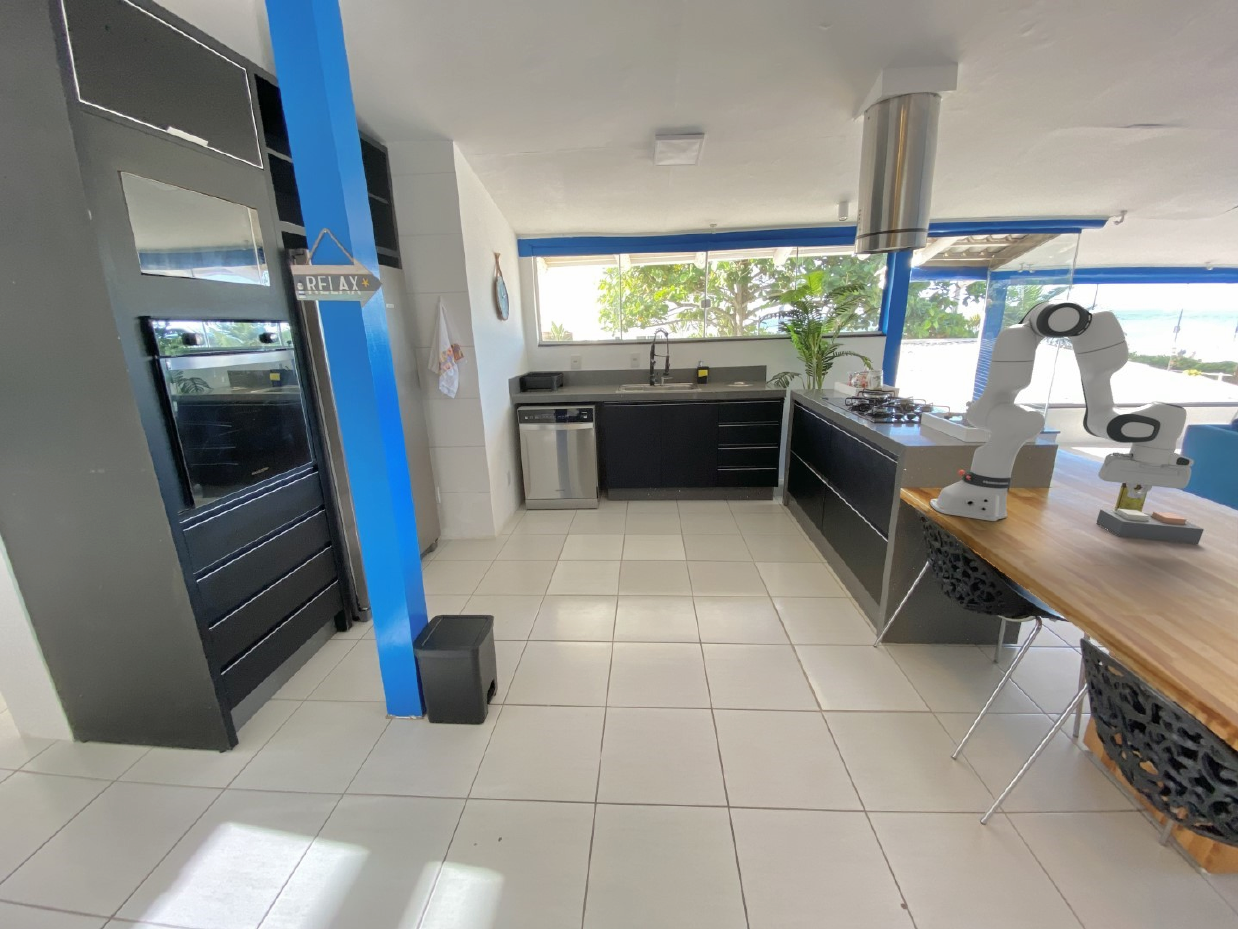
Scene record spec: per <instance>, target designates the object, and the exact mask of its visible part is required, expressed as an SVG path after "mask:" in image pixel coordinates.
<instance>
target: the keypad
mask: <svg viewBox="0 0 1238 929" xmlns="http://www.w3.org/2000/svg"><path fill="white" fill-rule="evenodd" d="M1116 512H1117V511H1116V510H1115V509H1103V508H1100V510H1099V512H1098V516H1097V519H1096V522H1097V523H1098V524H1097V523H1096V524H1097V525H1099V526H1100V525H1101V527H1102V528H1104V529H1105V528H1106V529H1105V530H1107V529H1108V530H1107V531H1109V532H1111V533H1112V534H1114V535H1115V534H1116V535H1115V536H1117V537H1120V538H1121V537H1122V538H1130V539H1138V540H1139V539H1141V540H1148V541H1149V540H1150V541H1161V542H1168V543H1170V542H1171V543H1178V544H1179V543H1180V544H1192V545H1199V543H1200V542H1201V537H1202V535H1203V533H1204V530H1205V529H1204V528H1203V527H1200V526H1198V525H1196V524H1193V523H1191V522H1189V521H1187V520H1186V523H1185V525H1181V524H1170V523H1162V522H1160V521H1158V520H1156V519H1154V518H1152V514H1153V513H1148V512H1143V513H1144V514H1146V515H1148V516H1149V517H1148V520H1147V521H1138V520H1127V519H1124V518H1122V517H1120V516H1119V515H1117V514H1116Z"/></svg>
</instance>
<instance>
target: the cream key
mask: <svg viewBox="0 0 1238 929" xmlns="http://www.w3.org/2000/svg"><path fill="white" fill-rule="evenodd" d="M1144 513H1145V512H1140V511H1137V510H1127V509H1117V512H1116V514H1117V515H1119V516H1120V517H1122V518H1124V519H1127V520H1138V521H1147V520H1148V517H1149V516H1148V515H1146V514H1144Z"/></svg>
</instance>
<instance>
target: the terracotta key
mask: <svg viewBox="0 0 1238 929" xmlns="http://www.w3.org/2000/svg"><path fill="white" fill-rule="evenodd" d="M1151 514H1152V518H1154V519H1156V520H1158V521H1160V522H1162V523H1170V524H1181V525H1185V523H1186V521H1187V519H1186V518H1185V517H1182V516H1180V515H1178V514H1176V513H1171V512H1160V511H1153V512H1152V513H1151Z"/></svg>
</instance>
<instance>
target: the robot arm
mask: <svg viewBox="0 0 1238 929" xmlns="http://www.w3.org/2000/svg"><path fill="white" fill-rule="evenodd" d="M1045 338H1052V339H1060V338H1061V339H1062V338H1068V340H1069V341H1070V343H1071V345H1072V350H1073V352H1074V357H1075V360H1076V363H1077V366H1078V370H1079V375H1080V382H1081V388H1082V392H1083V398H1084V403H1085V412H1084V416H1083V420H1082V426H1083V428H1084V430H1085V432H1087V434H1089V435H1090V436H1094V437H1095V438H1096V437H1097V438H1101V439H1106V440H1109V441H1112V442H1115V443H1120V444H1121V443H1122V444H1124V443H1125V444H1126V443H1127V444H1128V443H1129V444H1131V443H1132V444H1131V447H1130V449H1129V452H1128V453H1127V452H1122V453H1121V452H1118V451H1117V452H1112V453H1109V454H1107V455H1105V458H1104V461H1103V463H1102V466H1101V467H1100V469H1099V471H1098V474H1097V477H1098V478H1099V479H1100V480H1101V481H1105V482H1107V483H1109V482H1111V483H1119V484H1120V483H1121V484H1122V483H1127V484H1126V487H1127V489H1128V491H1129V492H1128V494H1127V496H1128V497H1130V498H1138V499H1142V498H1143V496H1144V494H1145V493H1147V494H1148V492H1150V491H1151V490H1152V489H1153V487H1157V488H1158V487H1159V488H1160V487H1161V488H1168V489H1177V490H1183V489H1184V488H1186V487H1188V485H1189V483H1190V481H1191V480H1190V479H1191V476H1192V469H1191V467H1192V466H1193V465H1194V464H1195V460H1194V459H1192V458H1190V457H1187V456H1183V455H1181V454H1180V453H1176V449H1177V444H1176V443H1177V441H1178V439H1179V438H1180V437H1181V435H1182V433H1183V430H1184V427H1185V425H1186V420H1187V410H1186V409H1185V407H1184V406H1181V405H1177V404H1173V403H1168V402H1163V401H1151V402H1149V403H1147V404H1144V405H1142V406H1140V407H1135V408H1131V409H1126V410H1125V409H1121V408H1120V407H1118V406H1117V405H1116V404H1115V401H1114V397H1113V392H1112V391H1113V390H1112V385H1111V378H1112V376H1113V375H1114V374H1115V373H1116V372H1118V371H1120V370H1121V369H1122V368H1124V367H1125V365H1126V364H1127V363H1128V360H1129V347H1128V343H1127V339H1126V336H1125V333H1124V331H1123V328H1122V326H1121V324H1120V322H1119V320H1118V318H1117V316H1116V315H1115V314H1114V312H1113V311H1112V310H1108V309H1104V308H1103V309H1100V308H1098V309H1094V310H1087V309H1086V308H1085V307H1083V306H1082V305H1081V304H1079V303H1077V302H1075V301H1071V300H1064V299H1051V300H1045V301H1041V302H1040V303H1037V304H1036V305H1034V306H1032V307H1031V308H1030V309H1029V310H1028V312H1026V313H1025V315H1024V316H1023V317H1022V319H1021V320H1020V321H1019V322H1018V324H1012V325H1009V326H1006V327H1004V328H1002V329H1001V330H1000V331H999V332H998V334H997V337H996V339H995V342H994V344H993V349H992V351H991V352H992V353H991V357H990V361H989V362H990V364H989V368H988V375H987V380H986V383H985V387H984V388H983V391H982V392H981V395H980V396H979V397H978V399H977V400H976V401H975V402H973V403H971V404H970V405H969V406H968V408H967V410H966V414H965V418H966V421H967V423H968V424H969V425H971V426H972V427H974V428H976V429H977V430H980V431H983V432H987V433H990V435H989V437H988V440H986V442H985V443H984V444H983V445H981V446H978V447H977V448H976V449H975V450H974V453H973V458H972V462H971V467H970V470H968V471H965V470H964V469H959V470H958V472H957V473H958V475H959V476H960V477H962V479H961V480H959V481H957V482H955V483H953V484H950V485H948V486H945V487H944V488H942V489H941V491H940V493H939V495H938V497H937V498H932V499H930V501H929V505H930V506H931V507H932V508H933V509H934V510H935V511H937V512H938V513H942V514H945V515H950V516H951V515H952V516H958V517H963V518H969V519H970V518H971V519H977V520H984V521H990V522H997V521H998V520H1000V519H1005V518H1007V517H1008V513H1007V496H1008V492H1009V490H1010V487H1011V484H1012V480H1013V479H1012V472H1013V468H1014V464H1015V461H1016V459H1017V455H1018V454H1019V451H1020V450H1021V448H1022V447H1023V446H1024V445H1025V444H1026V443H1027V442H1028V441H1029V440H1032V439H1034V438H1036V437H1037V436H1038V435H1040V433H1042V431H1043V430H1044V427H1045V424H1046V421H1045V420H1046V419H1045V417H1044V415H1043V414H1042V412H1040V411H1039V410H1036V409H1034V408H1033V407H1030V406H1026V405H1022V404H1016V403H1015V402H1016V401H1015V400H1016V398H1017V397H1018V395H1019V393H1021V391H1022V390H1025V389H1026V388H1027V387H1029V386H1030V384H1031V382H1032V377H1033V373H1034V372H1033V371H1034V367H1035V365H1034V364H1035V362H1036V361H1035V359H1036V352H1037V349H1038V346H1039V345H1040V343H1041V342H1042V341H1043V340H1044V339H1045ZM1137 484H1138V485H1141V487H1143V488H1141V489H1140V490H1139V491H1138V492H1135V490H1134V488H1136V487H1137Z"/></svg>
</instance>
